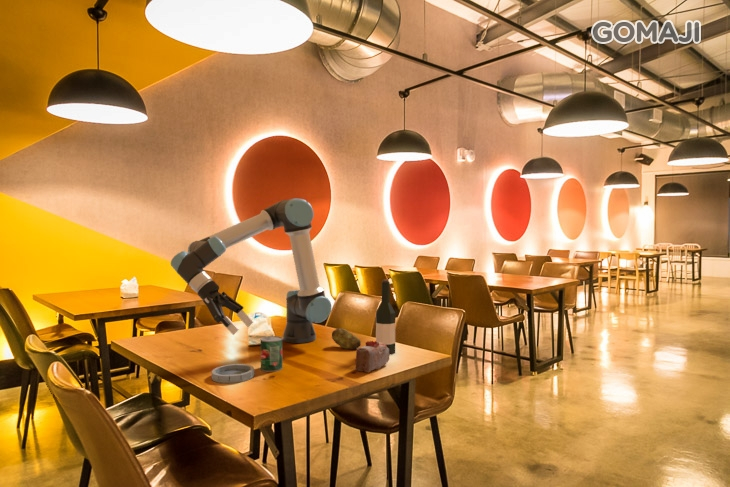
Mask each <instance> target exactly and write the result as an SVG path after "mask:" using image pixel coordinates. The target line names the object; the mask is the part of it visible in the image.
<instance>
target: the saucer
mask: <svg viewBox="0 0 730 487" xmlns="http://www.w3.org/2000/svg"><path fill="white" fill-rule="evenodd" d="M255 371H256V370H255V367H254V366H253V365H250V364H247V363H246V364H245V363H232V364H231V363H230V364H224V365H222V366H217V367H215V368H213V369H211V381H213V382H215V383H218V384H237V383H242V382H244V383H245V382H247V381H249V380H252V379H253V378H254V377H255Z"/></svg>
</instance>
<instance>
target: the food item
mask: <svg viewBox="0 0 730 487" xmlns="http://www.w3.org/2000/svg"><path fill="white" fill-rule="evenodd" d="M355 351H356V352H355V367H354V369H355V371H358V372H362V371H364V372H363V373H366V372H369V373H370V372H372V371H374V370H380V369H381V368H382V367H383V366H385V365H387V363H388V362H389V361H390V355H389V348H388V347H387V346H386V345H385V344H384V343H381V342H376V340H375V341H373V340H372V341H371V340H370V341H369V340H368V341H366V342H365V345H364V346H360V347H358V348H357V349H355ZM379 368H380V369H379ZM371 370H372V371H371Z"/></svg>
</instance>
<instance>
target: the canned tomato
mask: <svg viewBox="0 0 730 487" xmlns="http://www.w3.org/2000/svg"><path fill="white" fill-rule="evenodd" d="M282 369H283V336H282V337H281V336H278V335H277V336H276V335H270V336H263V337H261V338H260V370H261V371H263V372H267V373H273V372H278V371H279V372H280V371H281V370H282Z"/></svg>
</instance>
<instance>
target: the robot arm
mask: <svg viewBox="0 0 730 487" xmlns="http://www.w3.org/2000/svg"><path fill="white" fill-rule="evenodd" d="M313 219H314V209H313V207H312V204H311V203H310V202H309V201H307V200H306V199H303V198H295V197H294V198H289V199H284V200H279V201H278V202H276V203H274V204H272V205H270V206H268V207H266V208H265V209H262V210H261V211H260V213H259V214H256V215H255V216H251V217H250V218H247V219H245V220H243V221H241V222H238V223H235V224H234V225H232V226H230V227H226V228H225V229H222V230H219V231H217V232H216V233H214V234H211V235H209V236H207V237H204V238H202V239H199V240H195V241H192V242H191V243H189V245H188V247H187V251H186V250H183V251H180V252H178V253H176V255H174V256H173V257H172V259H171V260H170V267H172V268H173V269H174V270H175V272H176V273H177V274H178V276H180V277H181V278H182V280H183V281H185V283H187V285H188V286H189V287H190V289H191V290H193V291H194V292H195V293H197V295H198V296H199V298H200V299H201V300H202V302H203V303H204V304H205V306H206V307H207V309H208V311H209V313H210V314H211V315H210V316H212V318H213V320H214V321H215V322H216V323H217V324H219V323H221V324H222V325H223V326H224V327H225V328H226V329H227V330H228V331H229V332H230V333H231V334H232V335H233V336H234V335H235V334H236V333H238V331H240V328H239V327H238V326H236V324H235V323H234V322H233V321H232V320H231V319H230V317H228V316H227V315H226V316H225V313H224V309H223V308H226V309H228V310H230V311H231V312H233V313H235V314H236V316H237V317H238V319H240V320H241V321H242V322H243V324H245V326H246V327H247V328H250V326H251V325H253V323H254V321H253V319H251V318H250V317H249V315H248V314H246V312H245V311H244V310H243V309H245V307H244V306H243V305H241V304H240V303H239V302H238V301H236V300H235V299H233V298H232V297H231V296H229V295H228V294H227V292H225V291H222V292H221V293H220V290H219V289H220V285H218V283H217V282H216V281H215V280H213V278H212V277H211V276H210V275H209V274H208V273H207V272H206V271H205V268H206V267H207V266H209V265H210V264H211V263H212V262H214V261H215V260H217V259H218V258H219V257H221V256H222V255H223V254H224V253H225V252H226V250H227V249H229V248H230V247H233V246H235V245H237V244H239V243H241V242H243V241H246V240H248V239H251V238H252V237H255V236H256V235H259V234H262V233H264V232H265V231H267V230H268V231H272V230H275V229H278V228H283V231H284V233H285V235H287V236H288V237H289V241H290V246H291V251H292V258H293V260H294V261H293V262H294V266H295V272H296V276H297V282H298V285H299V289H295V290H288V291H287V293H286V298H285V299H286V300H285V301H286V324H285V328H284V329H283V330H284V331H283V335H282V342H285V343H291V344H305V343H310V342H311V343H312V342H313V341H316V339H317V333H316V330H315V327H314V325H313V323H316V324H317V323H319V324H320V323H322V322H324V321H325V320H327V319H328V318H329V317H330V314H331V312H332V303H331V301H330V300H329V298H327V297H326V295H325V294H326V293H325V290H324V289H325V288H324V287H322V286H320V282H319V277H318V272H317V267H316V261H315V256H314V251H313V246H312V240H311V235H310V234H311V233H310V231H311V230H312V229H313V226H312V222H313Z"/></svg>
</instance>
